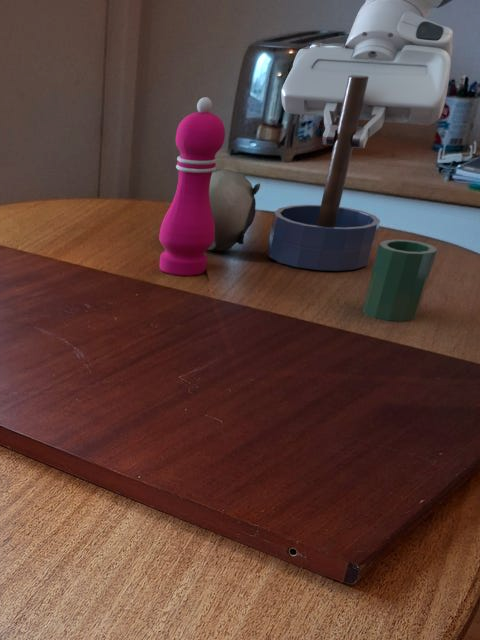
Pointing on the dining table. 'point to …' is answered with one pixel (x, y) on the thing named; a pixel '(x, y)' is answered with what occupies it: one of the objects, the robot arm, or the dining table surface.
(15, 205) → the dining table surface
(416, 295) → the holder
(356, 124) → the stick
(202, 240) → the pepper mill
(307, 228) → the bowl
